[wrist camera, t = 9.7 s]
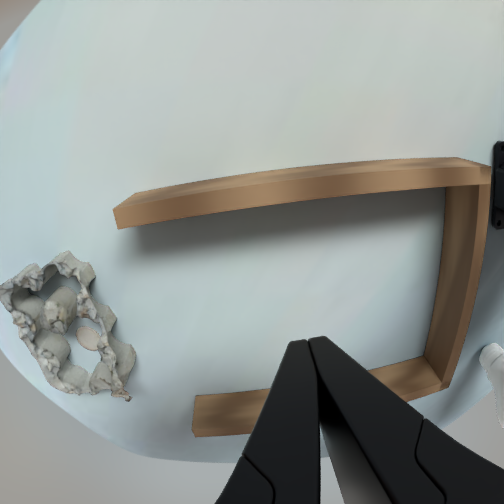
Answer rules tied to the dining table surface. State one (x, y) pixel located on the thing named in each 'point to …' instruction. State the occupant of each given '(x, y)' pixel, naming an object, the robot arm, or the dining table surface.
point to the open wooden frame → (334, 185)
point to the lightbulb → (495, 374)
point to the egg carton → (58, 321)
